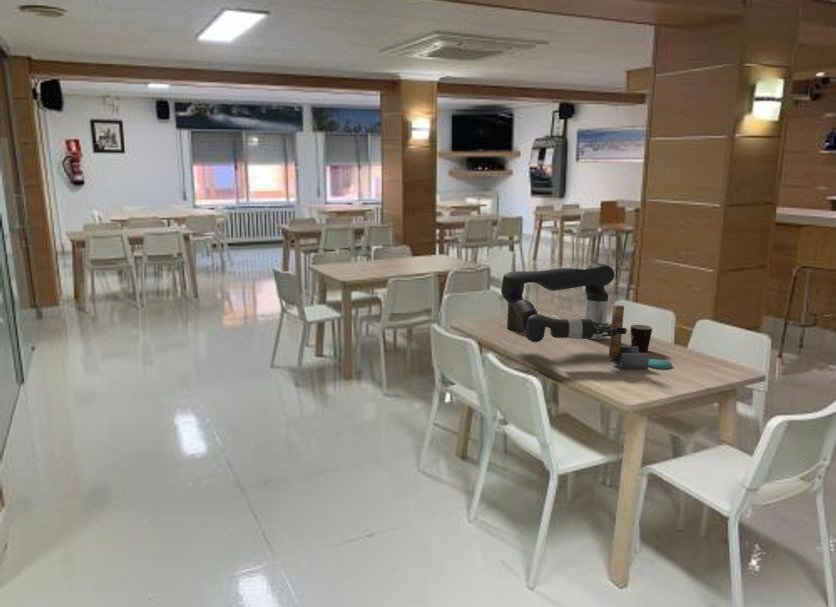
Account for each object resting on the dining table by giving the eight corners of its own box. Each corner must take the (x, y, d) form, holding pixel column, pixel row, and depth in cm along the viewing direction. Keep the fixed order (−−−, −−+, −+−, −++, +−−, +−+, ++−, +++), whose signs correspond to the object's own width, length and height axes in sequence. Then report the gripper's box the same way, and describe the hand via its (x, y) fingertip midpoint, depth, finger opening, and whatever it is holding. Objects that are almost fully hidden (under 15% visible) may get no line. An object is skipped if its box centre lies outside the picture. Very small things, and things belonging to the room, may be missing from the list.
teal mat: (639, 361, 249) (639, 358, 249) (665, 361, 250) (665, 359, 249) (649, 368, 240) (649, 366, 239) (675, 369, 240) (675, 366, 240)
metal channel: (610, 360, 250) (612, 345, 249) (636, 361, 250) (637, 346, 249) (621, 369, 238) (622, 354, 237) (647, 370, 239) (649, 354, 237)
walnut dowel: (607, 356, 246) (611, 305, 242) (617, 356, 246) (622, 305, 242) (610, 358, 242) (614, 307, 238) (621, 359, 242) (625, 307, 238)
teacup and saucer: (541, 323, 313) (542, 315, 312) (550, 321, 319) (551, 313, 318) (557, 326, 307) (558, 318, 306) (566, 324, 313) (566, 316, 312)
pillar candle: (508, 331, 295) (509, 299, 292) (505, 326, 304) (507, 295, 301) (529, 331, 295) (531, 299, 292) (526, 326, 304) (528, 295, 301)
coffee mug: (631, 346, 271) (633, 323, 269) (652, 349, 267) (654, 326, 265) (624, 352, 261) (626, 329, 260) (646, 356, 257) (648, 331, 255)
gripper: (584, 323, 233) (631, 324, 234) (574, 315, 247) (618, 315, 248) (583, 343, 235) (629, 344, 235) (573, 333, 249) (617, 334, 249)
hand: (623, 329), depth 242 cm, fingers closed on walnut dowel, 4 cm apart
